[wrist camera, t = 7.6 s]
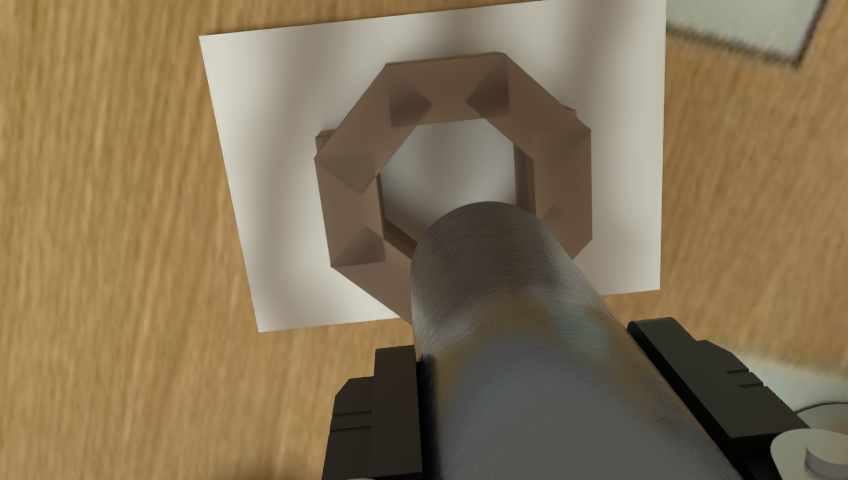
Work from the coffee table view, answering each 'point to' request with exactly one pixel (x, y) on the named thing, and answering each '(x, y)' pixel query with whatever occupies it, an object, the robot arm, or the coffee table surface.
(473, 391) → the steel peg
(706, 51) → the coffee table surface
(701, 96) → the coffee table surface
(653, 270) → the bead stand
